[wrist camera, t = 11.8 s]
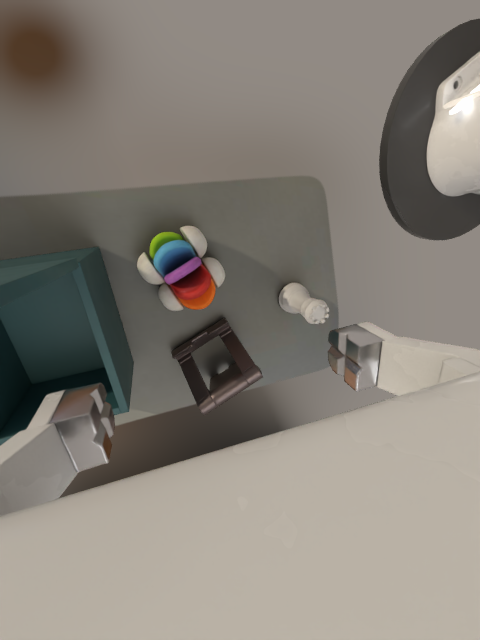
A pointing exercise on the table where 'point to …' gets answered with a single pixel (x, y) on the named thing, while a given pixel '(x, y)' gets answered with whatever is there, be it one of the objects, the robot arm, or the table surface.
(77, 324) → the teal hinged box
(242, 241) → the table surface
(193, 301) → the multicoloured rounded lobed piece
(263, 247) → the table surface
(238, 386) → the tablet stand
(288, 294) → the rook chess piece
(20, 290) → the lid
